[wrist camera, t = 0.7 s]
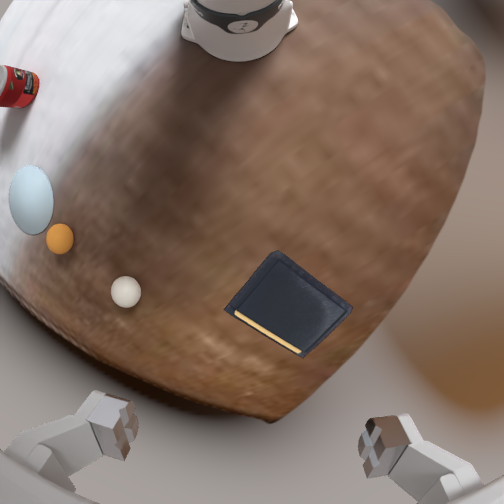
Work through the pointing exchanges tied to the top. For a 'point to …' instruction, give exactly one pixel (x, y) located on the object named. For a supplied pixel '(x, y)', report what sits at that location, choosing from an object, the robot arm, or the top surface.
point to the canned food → (17, 87)
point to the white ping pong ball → (125, 291)
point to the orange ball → (59, 238)
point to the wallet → (288, 305)
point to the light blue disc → (31, 199)
